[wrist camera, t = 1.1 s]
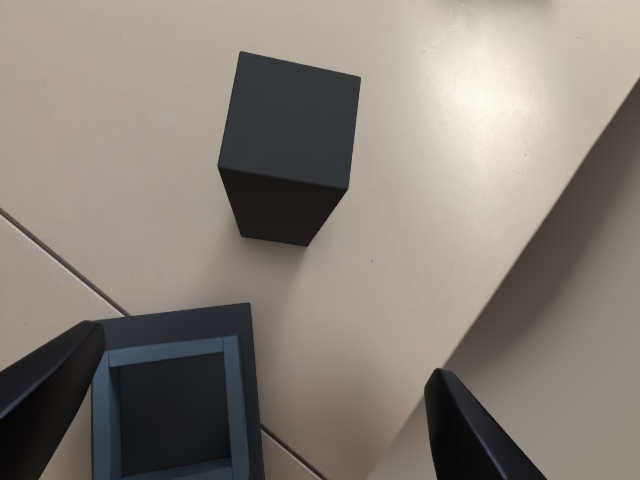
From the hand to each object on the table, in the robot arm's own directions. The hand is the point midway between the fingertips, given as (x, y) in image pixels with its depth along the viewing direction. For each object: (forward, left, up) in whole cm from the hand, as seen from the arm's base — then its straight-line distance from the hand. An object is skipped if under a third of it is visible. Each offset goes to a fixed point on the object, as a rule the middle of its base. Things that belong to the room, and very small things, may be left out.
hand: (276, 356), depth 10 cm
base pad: (-4, +6, -13) cm, 15 cm away
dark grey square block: (+8, -1, -13) cm, 16 cm away
